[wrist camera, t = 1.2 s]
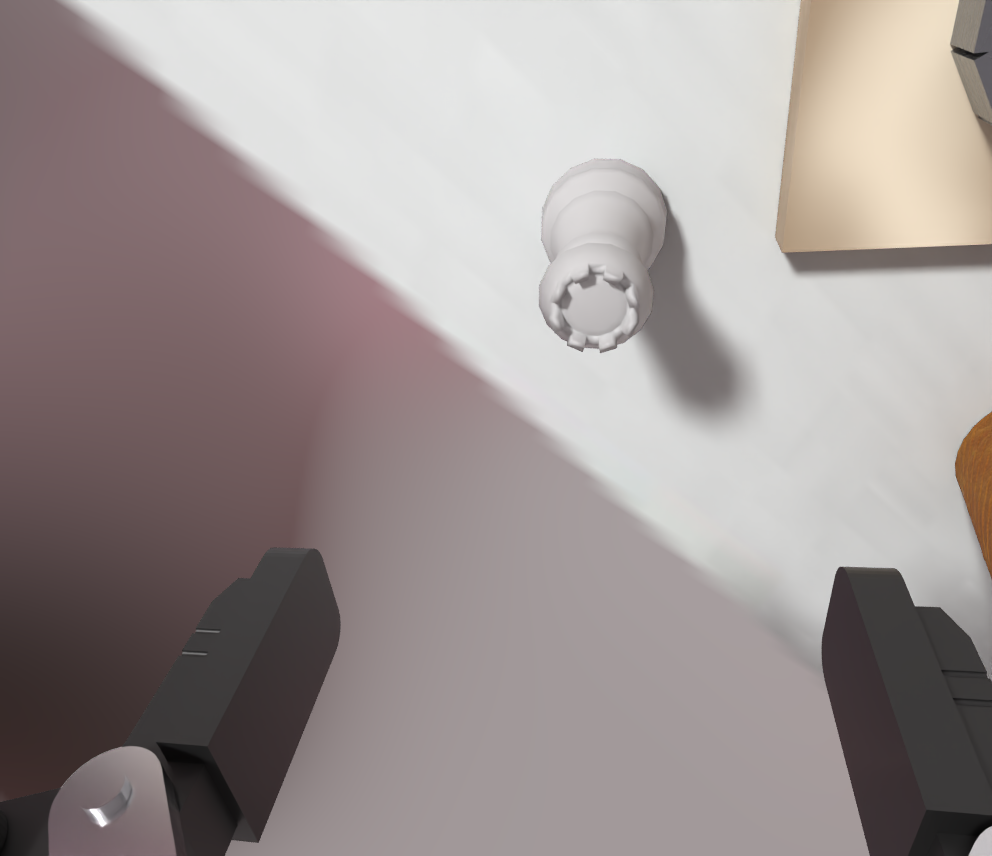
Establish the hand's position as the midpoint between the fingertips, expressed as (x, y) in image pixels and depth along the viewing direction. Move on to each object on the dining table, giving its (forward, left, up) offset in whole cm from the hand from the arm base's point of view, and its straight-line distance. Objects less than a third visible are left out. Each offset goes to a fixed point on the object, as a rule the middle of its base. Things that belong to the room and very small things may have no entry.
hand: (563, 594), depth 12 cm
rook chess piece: (0, 0, -19) cm, 19 cm away
